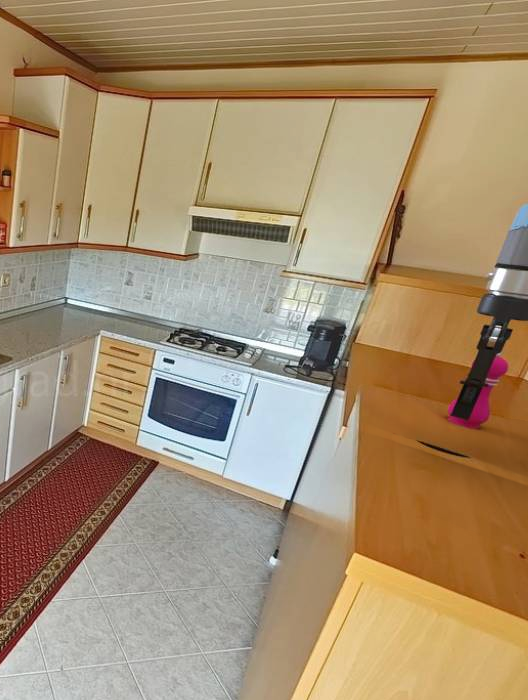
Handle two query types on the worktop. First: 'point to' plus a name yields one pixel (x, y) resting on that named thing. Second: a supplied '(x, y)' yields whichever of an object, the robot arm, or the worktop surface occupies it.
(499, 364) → the pepper mill
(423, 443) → the plate
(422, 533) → the worktop surface
